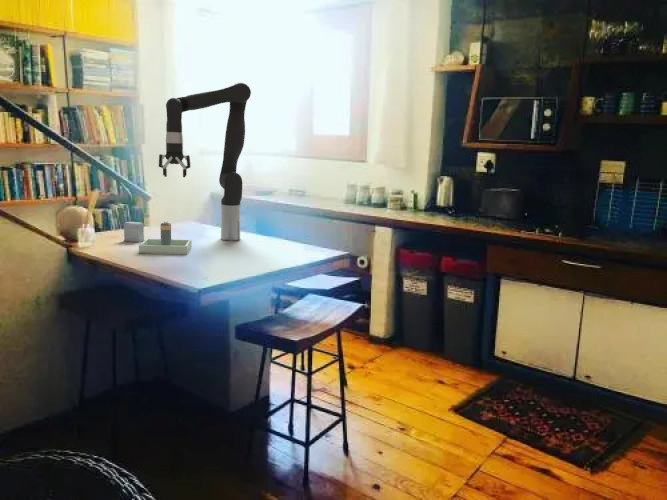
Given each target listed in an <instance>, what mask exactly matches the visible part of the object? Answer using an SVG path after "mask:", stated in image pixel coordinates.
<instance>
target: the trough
mask: <svg viewBox="0 0 667 500" xmlns="http://www.w3.org/2000/svg"><path fill="white" fill-rule="evenodd" d="M192 240H193V239H182V238H181V239H179V238H177V239H173V238H171V246H168V245H161V238H144V241H141V242H140V244H139V245H138V254H148V255H149V254H150V255H151V254H152V255H153V254H154V255H155V254H157V255H158V254H159V255H188V254H189V252H190V250H191V249H192V248H191V247H193V246H192V245H193V243H192V242H193V241H192Z"/></svg>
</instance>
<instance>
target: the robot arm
mask: <svg viewBox="0 0 667 500" xmlns="http://www.w3.org/2000/svg"><path fill="white" fill-rule="evenodd" d="M251 94H252V90H251V87H250V86H249V85H247V83H245V82H237V83H235V84H233V85H230V86H228V87H224V88H221V89H216V90H210V91H204V92H197V93H194V94H193V93H192V94H189V95H186V96H181V97H179V96H178V97H171V98H169V99H168V100H167V101H166V103H165V109H166V123H165V124H166V129H165V130H166V133H165V151H166V153H165V154H162V153H161V154H160V153H159V154H158V168H161V169H162V176H164V178H165V177H167V176H168V175H167V174H168V173H167V172H168V171H167V170H168V169H167V168H168V166H169V165H180V166H181V168H182V177H183V178H186V177H187V175H188V173H187V170H188V169H191V156H190V154H187V155H184V151H183V150H184V147H183V146H184V142H183V141H184V139H183V137H184V136H183V123H182V121H183V119H182V118H183V117H182V115H183V113H184V112H188V111H196V110H202V109H206V108H209V107H212V106H217V105H220V104H224V103H225V104H226V103H229V112H228V118H227V121H226V122H227V123H226V129H225V136H224V144H223V145H224V146H223V147H224V148H223V157H222V158H223V159H222V163H221V169H220V174H219V180H218V181H219V182H218V183H219V184H220V187H221V188H222V189H223V190H224V191H223V197H222V198H221V201H220V203H221V204H220V209H221V210H220V239H221V240H223V241H240V240H241V202H242V197H243V179H242V176H241V174H239V173H238V172H237V165H238V162H239V161H238V160H239V158H240V155H241V153H242V152H243V148H244V145H245V137H246V123H245V122H246V121H245V112H246V107H247V102H248V100H249V99H250V98H251V96H252V95H251ZM163 159H166V161H165V163H164V164H163ZM184 159H185V161H186V165H185V163H184V162H183V160H184Z"/></svg>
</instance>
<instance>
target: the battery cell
mask: <svg viewBox="0 0 667 500" xmlns="http://www.w3.org/2000/svg"><path fill="white" fill-rule="evenodd" d="M159 228H160V239H161V245H168V246H171V239H172V223H169V222H168V221H163V222H161V223H160V227H159Z"/></svg>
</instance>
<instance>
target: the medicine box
mask: <svg viewBox="0 0 667 500" xmlns="http://www.w3.org/2000/svg"><path fill="white" fill-rule="evenodd" d="M144 229H145V228H144V223H143V222H139V221H138V222H137V221H126V222H123V233H124V235H123V237H124V241H125V242H135V243H142V242H143V241H144V240H145V234H144V233H145V231H144Z"/></svg>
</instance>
